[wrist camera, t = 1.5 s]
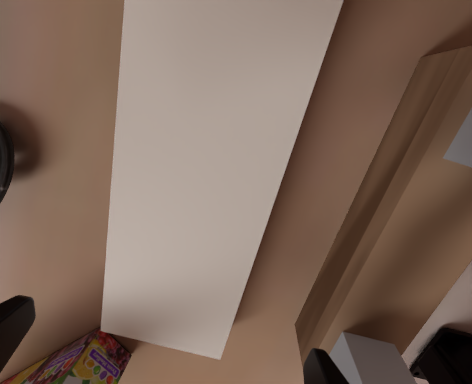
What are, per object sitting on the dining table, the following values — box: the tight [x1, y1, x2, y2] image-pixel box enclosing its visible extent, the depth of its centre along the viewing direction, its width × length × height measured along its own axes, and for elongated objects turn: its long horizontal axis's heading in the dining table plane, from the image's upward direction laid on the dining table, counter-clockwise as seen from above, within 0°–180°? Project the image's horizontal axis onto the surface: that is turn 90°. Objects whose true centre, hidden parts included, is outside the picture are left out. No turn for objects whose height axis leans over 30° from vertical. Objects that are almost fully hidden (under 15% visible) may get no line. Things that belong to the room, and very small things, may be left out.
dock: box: [101, 0, 343, 360], centre depth 18 cm, size 11×30×3 cm, turn 166°
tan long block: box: [295, 46, 472, 366], centre depth 18 cm, size 6×24×5 cm, turn 166°
